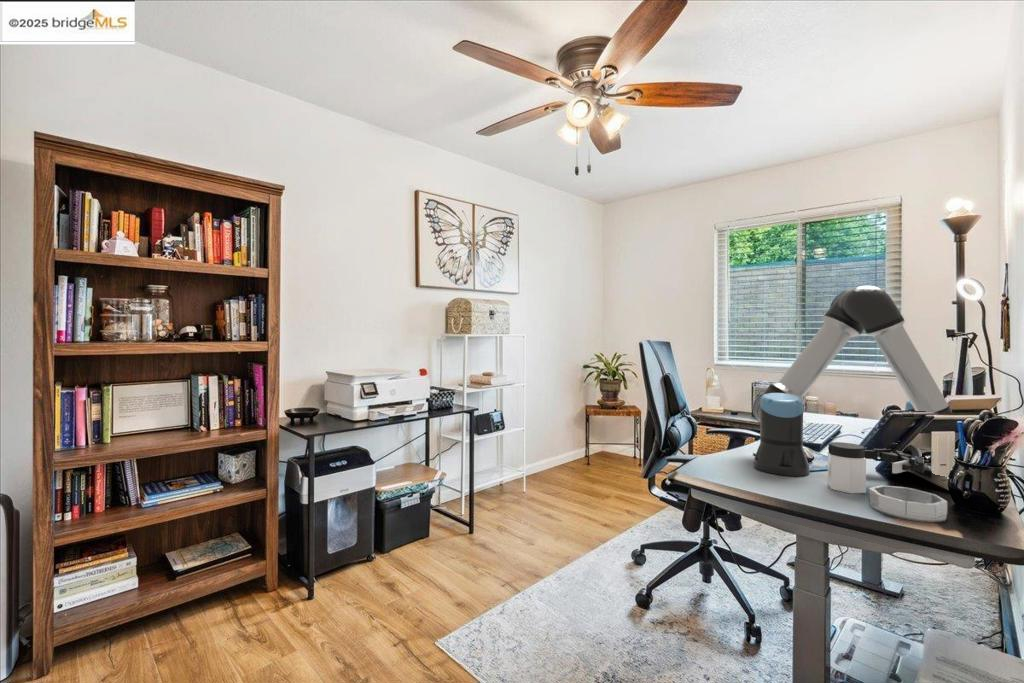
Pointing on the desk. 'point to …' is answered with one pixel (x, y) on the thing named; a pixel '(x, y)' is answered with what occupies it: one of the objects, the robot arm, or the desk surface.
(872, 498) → the grey octagonal tray
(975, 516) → the desk surface
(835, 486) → the jar
